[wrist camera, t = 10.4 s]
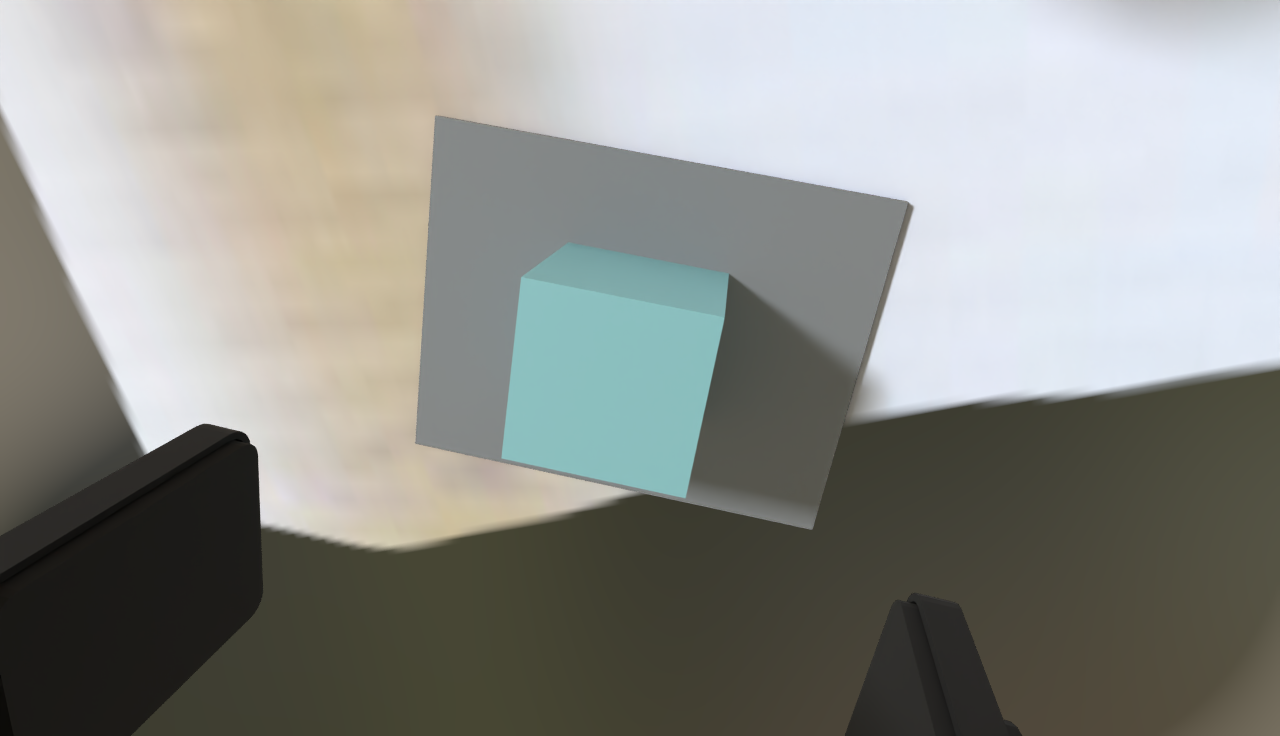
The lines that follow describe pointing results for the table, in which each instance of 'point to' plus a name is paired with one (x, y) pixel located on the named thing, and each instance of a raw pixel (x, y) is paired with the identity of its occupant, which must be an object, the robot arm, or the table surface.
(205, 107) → the table surface
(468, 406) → the slate mat
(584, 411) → the teal block
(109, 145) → the table surface
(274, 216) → the table surface
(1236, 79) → the table surface
